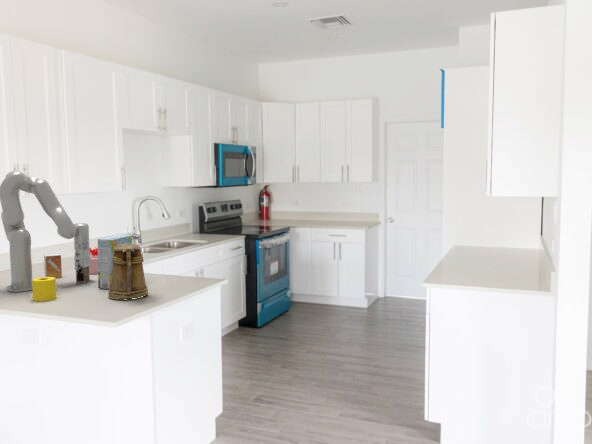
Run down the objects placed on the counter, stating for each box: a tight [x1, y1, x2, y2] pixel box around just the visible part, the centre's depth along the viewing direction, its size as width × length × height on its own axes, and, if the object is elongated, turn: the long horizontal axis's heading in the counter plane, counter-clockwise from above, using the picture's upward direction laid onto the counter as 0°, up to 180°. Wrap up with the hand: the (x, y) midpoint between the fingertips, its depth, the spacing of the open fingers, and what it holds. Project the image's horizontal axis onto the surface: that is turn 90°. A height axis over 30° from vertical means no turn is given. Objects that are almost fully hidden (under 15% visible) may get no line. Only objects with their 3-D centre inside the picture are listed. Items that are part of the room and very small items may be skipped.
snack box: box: [97, 234, 133, 290], centre depth 278 cm, size 22×9×26 cm, turn 168°
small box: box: [43, 253, 63, 279], centre depth 299 cm, size 8×6×13 cm
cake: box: [89, 246, 98, 275], centre depth 317 cm, size 20×20×14 cm
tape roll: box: [32, 276, 57, 302], centre depth 250 cm, size 10×10×9 cm
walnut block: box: [75, 267, 90, 284], centre depth 287 cm, size 5×5×8 cm
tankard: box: [108, 243, 149, 301], centre depth 251 cm, size 18×24×25 cm
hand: (82, 279), depth 287 cm, fingers closed on walnut block, 5 cm apart
